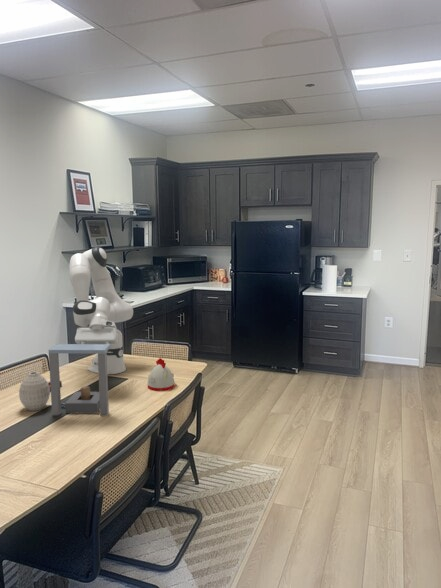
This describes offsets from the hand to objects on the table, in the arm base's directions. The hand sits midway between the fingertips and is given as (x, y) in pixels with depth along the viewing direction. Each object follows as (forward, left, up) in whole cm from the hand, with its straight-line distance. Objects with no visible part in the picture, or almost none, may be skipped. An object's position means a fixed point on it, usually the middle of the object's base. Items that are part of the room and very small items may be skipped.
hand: (94, 350), depth 208 cm
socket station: (+5, -13, -23) cm, 27 cm away
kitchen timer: (+20, +27, -23) cm, 40 cm away
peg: (+5, -12, -23) cm, 26 cm away
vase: (-14, -23, -23) cm, 36 cm away
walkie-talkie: (-29, -7, -24) cm, 38 cm away
